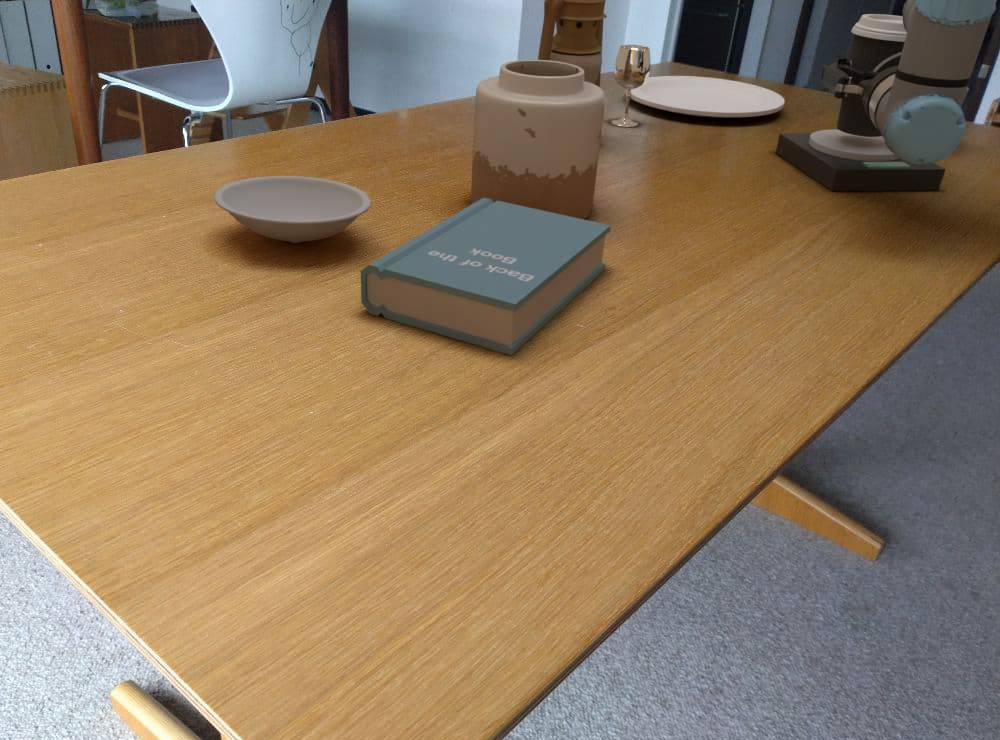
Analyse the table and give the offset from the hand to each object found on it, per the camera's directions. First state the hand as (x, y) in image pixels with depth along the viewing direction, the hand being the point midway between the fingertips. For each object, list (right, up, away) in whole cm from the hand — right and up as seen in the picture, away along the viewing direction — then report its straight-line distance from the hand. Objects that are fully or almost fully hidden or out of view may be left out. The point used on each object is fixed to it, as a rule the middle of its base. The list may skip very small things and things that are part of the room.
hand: (870, 66), depth 126 cm
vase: (-50, -24, -16) cm, 58 cm away
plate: (-15, +5, +33) cm, 37 cm away
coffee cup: (-1, -9, 0) cm, 9 cm away
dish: (-78, -30, -28) cm, 88 cm away
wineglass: (-31, -2, +21) cm, 38 cm away
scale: (-2, -14, +3) cm, 14 cm away
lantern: (-43, -8, +10) cm, 45 cm away
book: (-56, -37, -37) cm, 77 cm away
